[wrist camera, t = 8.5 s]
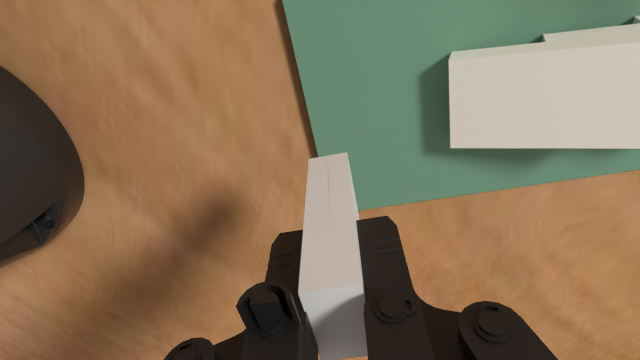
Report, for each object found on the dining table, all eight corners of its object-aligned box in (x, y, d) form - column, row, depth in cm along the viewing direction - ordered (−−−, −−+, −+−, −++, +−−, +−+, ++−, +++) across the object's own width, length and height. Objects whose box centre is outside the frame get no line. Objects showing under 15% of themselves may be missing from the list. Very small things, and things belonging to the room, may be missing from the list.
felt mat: (331, 209, 26) (331, 214, 25) (282, -7, 19) (280, -7, 18) (896, 126, 22) (909, 130, 21) (1105, -196, 14) (1134, -201, 14)
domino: (450, 148, 21) (681, 148, 17) (448, 60, 18) (720, 34, 14) (453, 135, 22) (669, 133, 18) (451, 51, 20) (703, 25, 15)
